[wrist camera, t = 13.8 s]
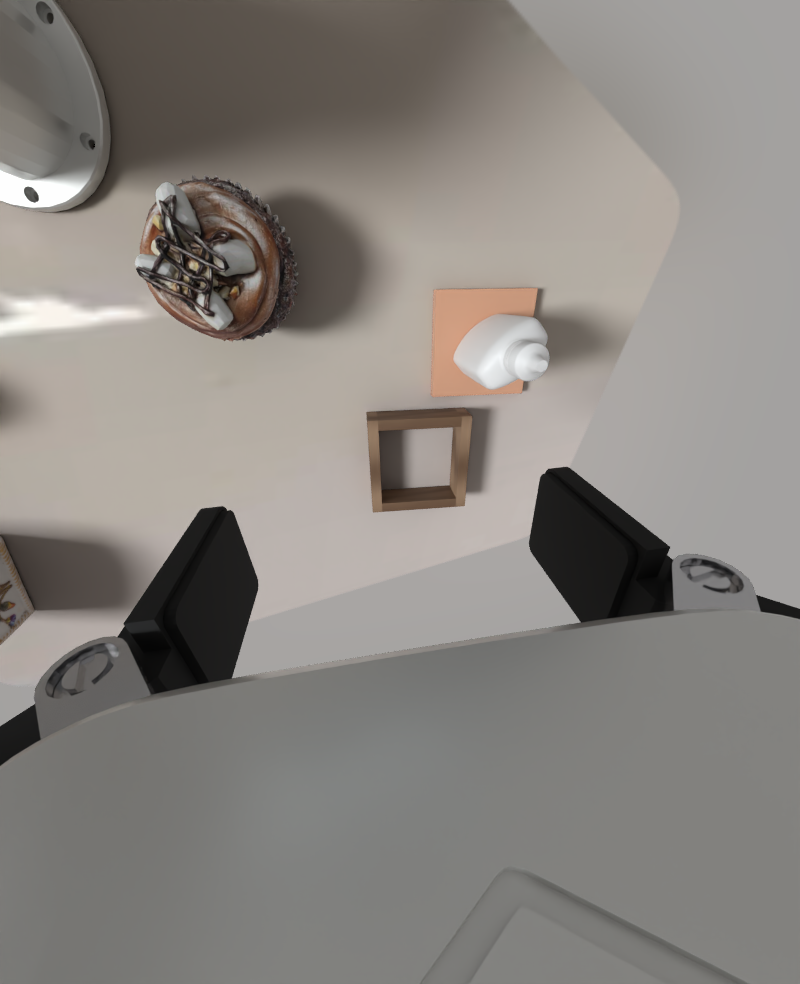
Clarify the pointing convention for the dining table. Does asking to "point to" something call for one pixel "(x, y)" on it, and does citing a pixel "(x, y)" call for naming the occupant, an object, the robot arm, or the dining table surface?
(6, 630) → the decorative jar
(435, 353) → the terracotta tile
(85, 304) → the dining table surface
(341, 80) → the dining table surface
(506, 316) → the eye dropper bottle
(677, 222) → the dining table surface
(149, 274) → the cupcake
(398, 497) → the walnut holder
